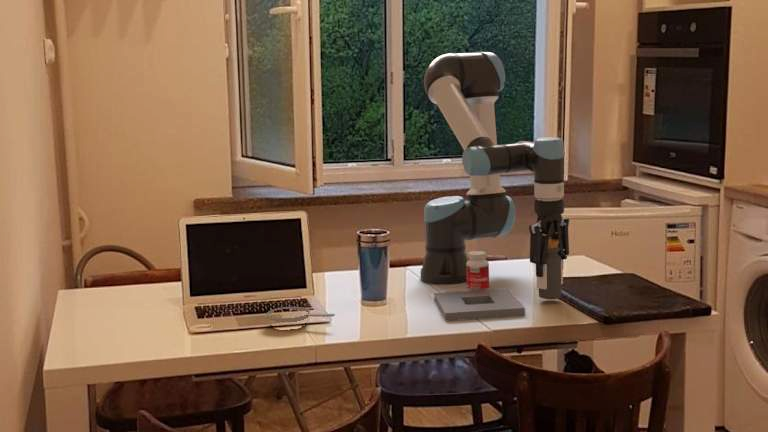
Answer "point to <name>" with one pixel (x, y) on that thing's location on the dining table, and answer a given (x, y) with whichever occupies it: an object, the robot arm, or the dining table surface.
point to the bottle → (552, 271)
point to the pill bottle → (477, 271)
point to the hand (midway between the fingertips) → (549, 285)
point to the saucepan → (296, 317)
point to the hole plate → (478, 304)
